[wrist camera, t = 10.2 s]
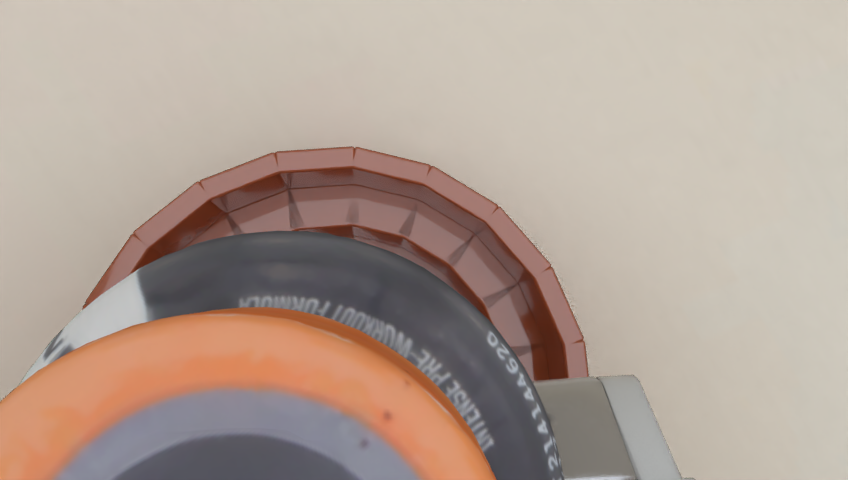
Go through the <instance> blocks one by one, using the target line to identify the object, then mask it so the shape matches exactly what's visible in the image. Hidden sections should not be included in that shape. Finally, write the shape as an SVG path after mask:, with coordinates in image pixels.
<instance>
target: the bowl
mask: <svg viewBox="0 0 848 480" xmlns="http://www.w3.org/2000/svg"><path fill="white" fill-rule="evenodd" d="M267 231H308V232H319V233H329V234H332V235H335V236H341V237H348V238H351V239H354V240H357V241H361V242H364V243H367V244H370V245H373V246H376V247H379V248H382V249H385V250H388V251H390V252H393V253H395V254H398V255H400V256H402V257H404V258H406V259H408V260H410V261H412V262H414V263H416V264H418V265H420V266H422V267H424V268H425V269H427V270H428V271H429V272H431V273H432V274H434V275H435V276H437V277H438V278H439V279H441V280H442V281H444V282H445V283H446V284H448V285H449V286H450V287H452V288H453V289H454V290H456V291H457V292H458V293H460V294H461V295H462V296H463V297H465V298H466V299H467V300H468V301H469V302H470V303H471V304H472V305H473V306H475V307H476V308H477V309H478V310H479V311H480V312H481V313H482V314H483V315H484V316H485V317H486V318H487V319H488V320H489V321H490V322H491V323H492V324H493V325H494V326H495V327H496V328H497V330H498V331H499V332H500V334H501V335H502V336H503V338H504V339H505V340H506V342H507V343H508V344H509V346H510V347H511V348H512V350H513V351H514V353H515V354H516V355H517V357H518V359H519V360H520V362H521V363H522V365H523V366H524V368H525V370H526V371H527V373H528V375H529V377H530V379H531V381H536V380H551V379H565V378H580V377H589V373H588V364H587V356H586V347H585V342H584V341H583V339H584V338H583V335H582V333H581V330H580V328H579V326H578V324H577V321H576V319H575V317H574V315H573V312H572V310H571V308H570V306H569V303H568V301H567V299H566V297H565V294H564V292H563V290H562V288H561V285H560V283H559V281H558V279H557V276H556V274H555V272H554V269H553V268H552V267H551V264H550V263H549V262H548V261H547V259H546V258H545V257H544V256H543V255H542V254H541V253H540V251H539V250H538V249H537V248H536V247H535V246H534V245H533V243H532V242H531V241H530V240H529V239H528V238H527V237H526V236H525V234H524V233H523V232H522V231H521V230H520V229H519V228H518V226H517V225H516V224H515V223H514V222H513V221H512V220H511V218H510V217H509V216H508V215H507V214H506V213H505V212H504V210H503V209H502V208H501V207H498V205H497V204H495V203H494V202H492V201H491V200H489V199H487V198H486V197H484V196H482V195H481V194H479V193H477V192H476V191H474V190H472V189H471V188H469V187H467V186H466V185H464V184H462V183H461V182H459V181H457V180H456V179H454V178H452V177H451V176H449V175H448V174H446V173H444V172H443V171H441V170H439V169H438V168H436V167H434V166H431V165H429V164H426V163H421V162H417V161H413V160H409V159H405V158H401V157H397V156H393V155H389V154H384V153H380V152H376V151H372V150H368V149H364V148H360V147H355V148H354V147H352V146H351V147H336V148H321V149H306V150H291V151H277V152H276V153H270V154H267V155H264V156H262V157H259V158H257V159H254V160H251V161H249V162H246V163H244V164H241V165H238V166H236V167H233V168H231V169H228V170H225V171H223V172H220V173H218V174H215V175H212V176H210V177H207V178H205V179H202V180H200V182H196V183H195V184H193V185H192V186H191V187H190V188H188V189H187V190H186V191H184V192H183V193H182V194H181V195H179V196H178V197H177V198H176V199H174V200H173V201H172V202H171V203H169V204H168V205H167V206H165V207H164V208H163V209H162V210H160V211H159V212H158V213H157V214H155V215H154V216H153V217H152V218H150V219H149V220H148V221H146V222H145V223H144V224H143V225H141V226H140V227H139V228H138V229H136V230H135V231H134V232H133V234H132V235H131V236H130V237H129V239H128V240H127V242H126V243H125V245H124V246H123V248H122V249H121V250H120V252H119V253H118V255H117V256H116V258H115V259H114V261H113V262H112V264H111V265H110V266H109V268H108V269H107V271H106V272H105V274H104V275H103V277H102V278H101V280H100V281H99V282H98V284H97V285H96V287H95V288H94V290H93V291H92V293H91V294H90V296H89V297H88V298H87V300H86V302H85V303H86V304H85V305H84V306H83V309H84V308H85V307H87V306H88V305H89V304H90V303H92V302H93V301H94V300H95V299H96V298H98V297H99V296H100V295H101V294H103V293H104V292H106V291H107V290H109V289H110V288H111V287H113V286H114V285H116V284H117V283H119V282H120V281H122V280H123V279H124V278H126V277H127V276H129V275H130V274H132V273H133V272H135V271H136V270H138V269H139V268H141V267H143V266H145V265H147V264H149V263H151V262H153V261H155V260H157V259H159V258H161V257H163V256H165V255H168V254H171V253H174V252H176V251H179V250H182V249H184V248H186V247H189V246H191V245H194V244H197V243H200V242H203V241H207V240H211V239H216V238H221V237H226V236H232V235H239V234H247V233H256V232H267ZM83 309H82V310H83Z"/></svg>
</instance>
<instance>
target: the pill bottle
mask: <svg viewBox="0 0 848 480" xmlns="http://www.w3.org/2000/svg"><path fill="white" fill-rule="evenodd" d="M0 480H564V476H563V471H562V466H561V460H560V456H559V452H558V448H557V445H556V441H555V437H554V433H553V430H552V427H551V424H550V422H549V419H548V416H547V414H546V411H545V408H544V406H543V404H542V401H541V399H540V397H539V395H538V392H537V390H536V388H535V386H534V384H533V382H532V381H531V379H530V377H529V375H528V373H527V371H526V370H525V368H524V366H523V365H522V363H521V362H520V360H519V359H518V357H517V355H516V354H515V353H514V351H513V350H512V348H511V347H510V346H509V344H508V343H507V342H506V340H505V339H504V338H503V336H502V335H501V334H500V332H499V331H498V330H497V328H496V327H495V326H494V325H493V324H492V323H491V322H490V321H489V320H488V319H487V318H486V317H485V316H484V315H483V314H482V313H481V312H480V311H479V310H478V309H477V308H476V307H475V306H473V305H472V304H471V303H470V302H469V301H468V300H467V299H466V298H465V297H463V296H462V295H461V294H460V293H458V292H457V291H456V290H454V289H453V288H452V287H450V286H449V285H448V284H446V283H445V282H444V281H442V280H441V279H439V278H438V277H437V276H435V275H434V274H432V273H431V272H429V271H428V270H427V269H425V268H424V267H422V266H420V265H418V264H416V263H414V262H412V261H410V260H408V259H406V258H404V257H402V256H400V255H398V254H395V253H393V252H390V251H388V250H385V249H382V248H379V247H376V246H373V245H370V244H367V243H364V242H361V241H357V240H354V239H351V238H348V237H341V236H335V235H332V234H329V233H319V232H308V231H267V232H256V233H247V234H239V235H232V236H226V237H221V238H216V239H211V240H207V241H203V242H200V243H197V244H194V245H191V246H189V247H186V248H184V249H182V250H179V251H176V252H174V253H171V254H168V255H165V256H163V257H161V258H159V259H157V260H155V261H153V262H151V263H149V264H147V265H145V266H143V267H141V268H139V269H138V270H136V271H135V272H133V273H132V274H130V275H129V276H127V277H126V278H124V279H123V280H122V281H120V282H119V283H117V284H116V285H114V286H113V287H111V288H110V289H109V290H107V291H106V292H104V293H103V294H101V295H100V296H99V297H98V298H96V299H95V300H94V301H93V302H92V303H90V304H89V305H88V306H87V307H85V308H84V309H83V310H82V311H81V312H79V313H78V314H77V315H76V316H75V317H74V318H73V319H72V320H71V321H70V322H69V323H68V324H67V325H66V326H65V327H64V328H63V329H62V330H61V331H60V332H59V333H58V335H57V336H56V337H55V338H54V339H53V340H52V341H51V342H50V343H49V345H48V346H47V347H46V349H45V350H44V351H43V353H42V354H41V355H40V357H39V358H38V359H37V360H36V362H35V363H34V364H33V366H32V367H31V368H30V369H29V371H28V372H27V374H26V375H25V377H24V378H23V380H22V381H21V383H20V384H19V386H18V387H16V388H15V389H14V390H13V391H12V392H10V393H9V394H8V395H7V396H6V397H5V398H4V399H3V400H1V401H0Z"/></svg>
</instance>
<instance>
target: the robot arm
mask: <svg viewBox="0 0 848 480" xmlns="http://www.w3.org/2000/svg"><path fill="white" fill-rule="evenodd" d="M532 382H533V384H534V386H535V388H536V390H537V392H538V395H539V397H540V399H541V401H542V404H543V406H544V408H545V411H546V414H547V416H548V419H549V422H550V424H551V427H552V430H553V433H554V437H555V441H556V445H557V448H558V452H559V456H560V460H561V466H562V471H563V476H564V480H695V479H694V478H682V477H681V475H680V473H679V470H678V468H677V466H676V463H675V461H674V459H673V457H672V454H671V452H670V450H669V447H668V445H667V443H666V441H665V438H664V436H663V434H662V431H661V429H660V427H659V424H658V422H657V420H656V418H655V415H654V413H653V411H652V408H651V406H650V404H649V402H648V399H647V397H646V395H645V392H644V390H643V388H642V386H641V383H640V381H639V380H638V379H637V378H636V377H635V376H634V375H622V376H605V377H596V378H595V377H580V378H565V379H551V380H536V381H532Z"/></svg>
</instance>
